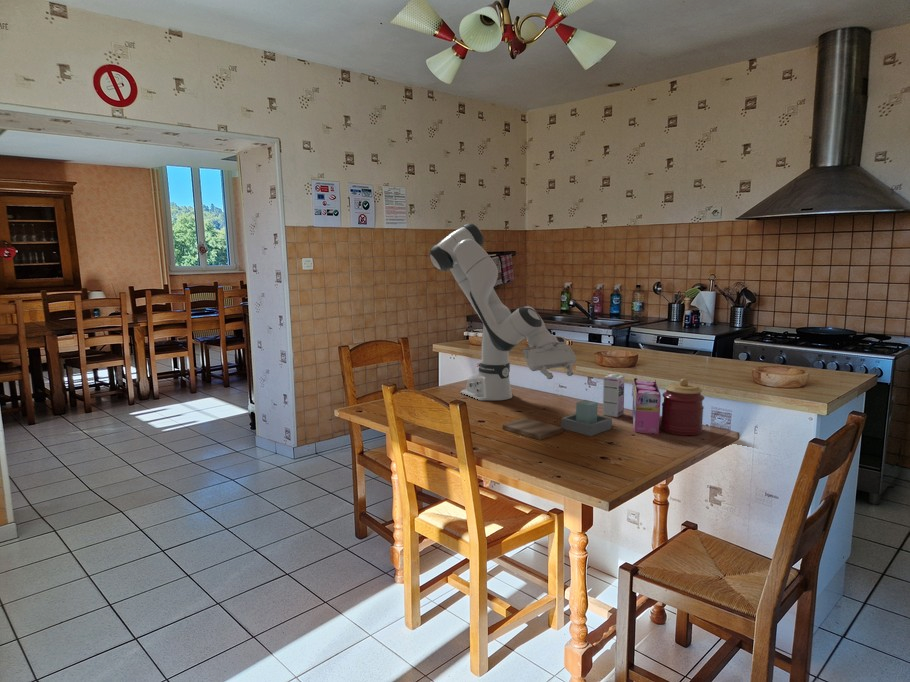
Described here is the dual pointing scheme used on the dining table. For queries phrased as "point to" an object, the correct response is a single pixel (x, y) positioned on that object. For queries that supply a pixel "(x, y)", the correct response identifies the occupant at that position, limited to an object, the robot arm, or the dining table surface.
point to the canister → (682, 409)
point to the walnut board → (532, 428)
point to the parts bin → (586, 425)
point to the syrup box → (613, 395)
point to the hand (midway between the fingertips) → (561, 376)
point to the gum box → (646, 406)
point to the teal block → (586, 412)
